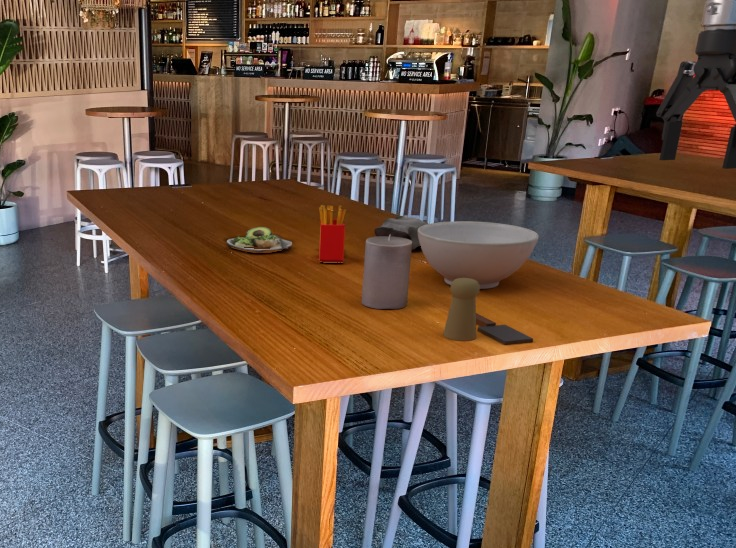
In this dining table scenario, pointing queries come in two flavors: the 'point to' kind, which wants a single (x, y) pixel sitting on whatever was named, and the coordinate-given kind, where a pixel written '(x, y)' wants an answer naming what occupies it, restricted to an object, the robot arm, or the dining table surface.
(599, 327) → the dining table surface
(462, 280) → the pepper mill
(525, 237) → the decorative bowl
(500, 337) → the spatula
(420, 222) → the rock
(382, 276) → the pillar candle
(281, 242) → the salad plate
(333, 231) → the french fries container
